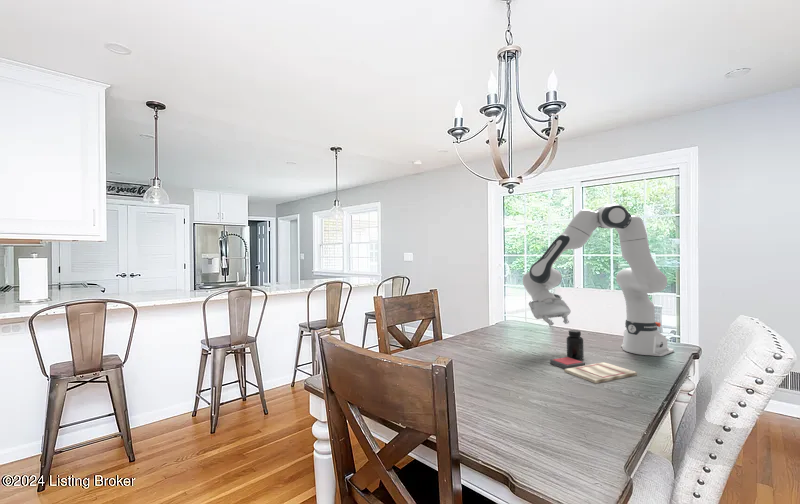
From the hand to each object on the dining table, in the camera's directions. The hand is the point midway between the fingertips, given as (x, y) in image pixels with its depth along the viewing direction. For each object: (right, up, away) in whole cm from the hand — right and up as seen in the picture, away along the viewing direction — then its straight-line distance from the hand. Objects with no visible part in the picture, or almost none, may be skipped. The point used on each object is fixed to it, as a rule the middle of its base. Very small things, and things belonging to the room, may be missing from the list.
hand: (559, 324), depth 172 cm
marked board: (+3, -14, -29) cm, 32 cm away
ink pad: (-4, -14, -18) cm, 23 cm away
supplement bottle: (+3, -14, -8) cm, 16 cm away
